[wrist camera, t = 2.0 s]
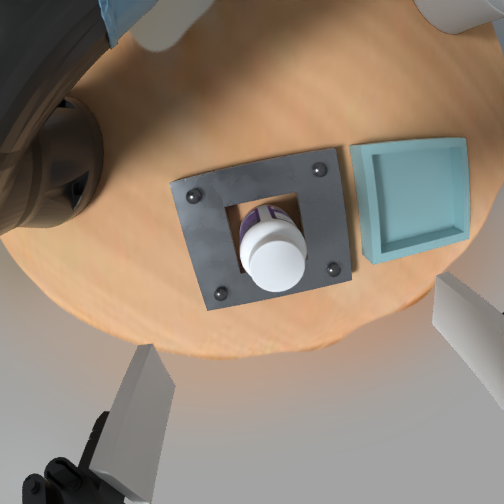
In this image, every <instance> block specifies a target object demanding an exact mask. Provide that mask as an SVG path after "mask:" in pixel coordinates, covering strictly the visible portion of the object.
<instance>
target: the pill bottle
mask: <svg viewBox="0 0 504 504" xmlns="http://www.w3.org/2000/svg"><path fill="white" fill-rule="evenodd" d="M306 254H307V248H306V243H305V240H304V237H303V236H302V234H301V232H300V231H299V229H298V228H297V226H296V225H295V224H294V222H293V221H292V219H291V218H290V217H289V215H288V214H287V213H286V212H285V211H284V210H282V209H281V208H279V207H277V206H274V205H261V206H257V207H255V208H253V209H252V210H250V211H249V212H248V213H247V214H246V215H245V217H244V218H243V220H242V223H241V226H240V259H241V262H242V265H243V267H244V269H245V270H246V272H247V273H248V274H249V275H250V276H251V277H252V279H253V281H254V282H255V283H256V284H257V285H258V286H259V287H261V288H262V289H264V290H267V291H270V292H281V291H285V290H288V289H290V288H292V287H293V286H295V285H296V284H297V283H298V282H299V281H300V279H301V278H302V276H303V273H304V270H305V259H306Z"/></svg>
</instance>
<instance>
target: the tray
mask: <svg viewBox="0 0 504 504" xmlns="http://www.w3.org/2000/svg"><path fill="white" fill-rule="evenodd" d="M349 147H350V153H351V159H352V165H353V171H354V178H355V185H356V193H357V201H358V209H359V219H360V229H361V240H362V253H363V255H364V256H365V257H366V258H367V259H368V260H369V261H370V262H371V263H372V264H373V265H374V264H378V263H382V262H386V261H390V260H394V259H398V258H401V257H405V256H409V255H413V254H416V253H420V252H424V251H428V250H431V249H435V248H438V247H442V246H446V245H449V244H453V243H456V242H460V241H463V240H466V239H469V232H470V183H469V166H468V154H467V145H466V138H461V137H438V138H420V139H407V140H395V141H384V142H375V143H366V144H357V145H349Z"/></svg>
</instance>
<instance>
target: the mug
mask: <svg viewBox="0 0 504 504" xmlns="http://www.w3.org/2000/svg"><path fill="white" fill-rule="evenodd" d="M414 2H415V4H416V6H417V8H418V10H419V11H420V13H421V14H422V15H423V16H424V17H425V19H426V20H427V21H428V22H429V23H431V24H432V25H433V26H434V27H436V28H437V29H439V30H440V31H442V32H445V33H448V34H458V33H461V32H463V31H465V30H468V29H470V28H473V27H476V26H479V25H482V24H485V23H488V22H491V21H494V20H497V19H501V18H504V0H414Z"/></svg>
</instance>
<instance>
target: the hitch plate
mask: <svg viewBox="0 0 504 504" xmlns="http://www.w3.org/2000/svg"><path fill="white" fill-rule="evenodd" d="M170 187H171V191H172V195H173V198H174V202H175V206H176V209H177V213H178V217H179V220H180V224H181V227H182V231H183V234H184V238H185V241H186V244H187V248H188V251H189V255H190V258H191V261H192V264H193V268H194V271H195V274H196V277H197V280H198V284H199V287H200V290H201V293H202V296H203V299H204V302H205V305H206V308H207V311H209V310H214V309H220V308H225V307H231V306H236V305H241V304H246V303H251V302H256V301H261V300H266V299H271V298H276V297H280V296H285V295H290V294H294V293H299V292H303V291H308V290H312V289H316V288H321V287H325V286H329V285H334V284H338V283H342V282H346V281H350V280H352V274H351V261H350V249H349V239H348V230H347V221H346V212H345V205H344V197H343V190H342V183H341V177H340V170H339V164H338V158H337V153H336V148H328V149H321V150H315V151H309V152H303V153H297V154H291V155H286V156H280V157H275V158H270V159H265V160H260V161H255V162H250V163H246V164H241V165H236V166H232V167H228V168H223V169H219V170H215V171H211V172H207V173H203V174H199V175H195V176H191V177H187V178H183V179H180V180H176V181H173V182H171V183H170ZM293 192H295V196H296V202H297V207H298V213H299V219H300V225H301V230H302V236H303V237H304V240H305V243H306V248H307V254H306V259H305V270H304V273H303V276H302V278H301V279H300V281H299V282H298V283H297V284H296V285H295V286H293V287H292V288H290V289H288V290H285V291H281V292H270V291H267V290H264V289H262V288H261V287H259V286H258V285H257V284H256V283H255V282H254V281H253V279H252V277H251V276H250V275H249V274H248V273H247V272H246V270H245V269H244V267H243V268H241V267H240V263H239V259H238V255H237V251H236V247H235V243H234V239H233V235H232V231H231V227H230V223H229V219H228V215H227V210H226V207H227V206H231V205H236V204H240V203H245V202H249V201H254V200H259V199H263V198H268V197H273V196H278V195H283V194H288V193H293Z"/></svg>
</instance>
